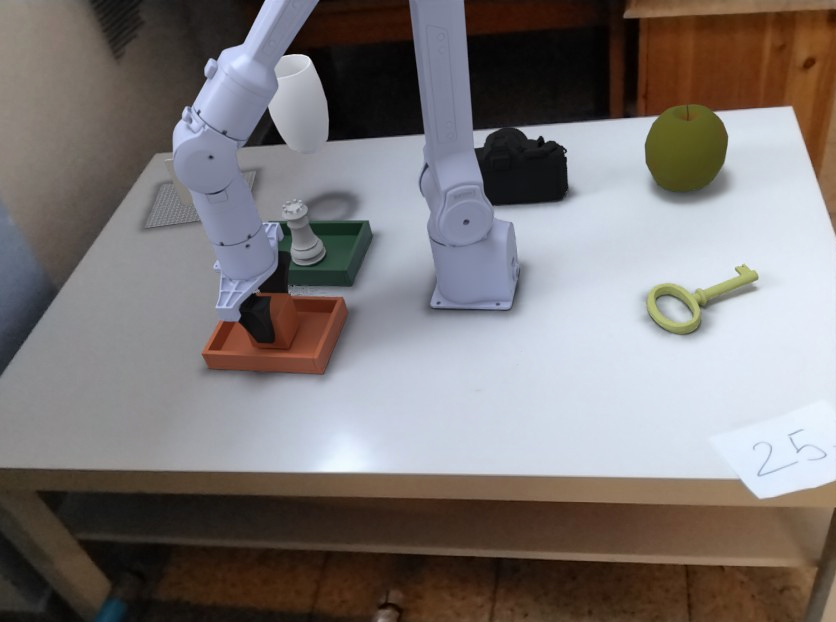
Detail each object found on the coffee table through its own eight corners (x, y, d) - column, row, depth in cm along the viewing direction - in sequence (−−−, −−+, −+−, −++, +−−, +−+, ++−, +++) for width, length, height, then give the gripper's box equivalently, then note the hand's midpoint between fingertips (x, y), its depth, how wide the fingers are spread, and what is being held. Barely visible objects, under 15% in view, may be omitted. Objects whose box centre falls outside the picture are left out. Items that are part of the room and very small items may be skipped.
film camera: (570, 162, 113) (567, 101, 106) (568, 204, 106) (565, 142, 100) (461, 169, 116) (452, 110, 110) (452, 210, 110) (442, 150, 103)
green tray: (373, 235, 108) (368, 219, 107) (351, 286, 102) (346, 270, 100) (274, 235, 112) (268, 220, 110) (247, 284, 105) (240, 269, 104)
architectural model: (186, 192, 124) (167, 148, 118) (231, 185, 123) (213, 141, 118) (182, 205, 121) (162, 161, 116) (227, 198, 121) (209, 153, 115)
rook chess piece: (300, 272, 104) (281, 220, 99) (288, 255, 107) (269, 204, 102) (331, 258, 105) (315, 206, 100) (319, 242, 108) (302, 190, 103)
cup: (363, 208, 113) (326, 63, 98) (318, 232, 111) (272, 86, 96) (338, 188, 118) (298, 46, 103) (294, 210, 116) (247, 68, 101)
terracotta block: (301, 322, 97) (290, 293, 94) (288, 349, 94) (277, 319, 91) (266, 321, 98) (254, 292, 95) (252, 347, 95) (240, 318, 92)
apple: (678, 215, 101) (684, 135, 93) (627, 183, 107) (628, 105, 100) (740, 183, 103) (751, 102, 96) (687, 153, 110) (692, 75, 102)
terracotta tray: (348, 312, 98) (343, 296, 97) (323, 374, 92) (317, 358, 90) (240, 309, 102) (234, 294, 100) (208, 368, 95) (201, 353, 94)
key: (761, 286, 90) (764, 270, 89) (680, 341, 86) (681, 326, 85) (710, 257, 95) (711, 242, 93) (631, 308, 91) (631, 294, 90)
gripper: (226, 189, 91) (263, 284, 101) (171, 273, 82) (218, 369, 92) (285, 188, 89) (317, 285, 99) (236, 274, 80) (277, 371, 90)
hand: (273, 325), depth 95 cm, fingers closed on terracotta block, 4 cm apart
